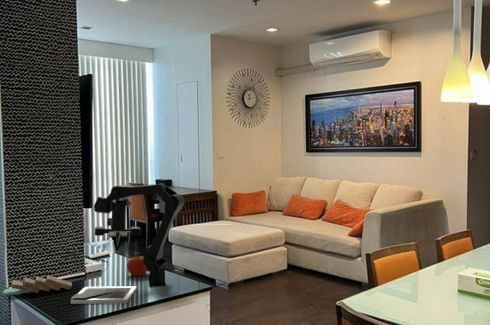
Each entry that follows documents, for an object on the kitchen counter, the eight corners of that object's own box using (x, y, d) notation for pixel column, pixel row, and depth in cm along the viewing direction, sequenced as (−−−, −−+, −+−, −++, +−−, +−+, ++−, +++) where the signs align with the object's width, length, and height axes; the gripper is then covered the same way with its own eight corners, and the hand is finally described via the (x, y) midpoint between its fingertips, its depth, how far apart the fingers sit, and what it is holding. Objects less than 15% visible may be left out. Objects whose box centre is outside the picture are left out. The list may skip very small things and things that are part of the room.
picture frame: (70, 305, 173) (127, 305, 173) (70, 298, 173) (127, 297, 173) (85, 292, 189) (136, 291, 189) (84, 285, 189) (136, 284, 189)
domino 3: (49, 283, 192) (24, 277, 188) (50, 287, 188) (25, 281, 183) (47, 287, 192) (22, 281, 187) (49, 291, 188) (23, 285, 183)
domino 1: (32, 286, 191) (5, 289, 188) (30, 290, 186) (2, 292, 183) (32, 290, 191) (5, 293, 188) (30, 294, 186) (2, 297, 183)
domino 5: (71, 282, 194) (47, 275, 191) (71, 286, 190) (46, 278, 187) (70, 286, 194) (46, 278, 191) (70, 289, 190) (45, 282, 186)
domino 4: (61, 283, 193) (36, 276, 190) (61, 287, 189) (36, 279, 185) (59, 287, 193) (34, 279, 190) (59, 290, 188) (34, 283, 185)
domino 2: (38, 284, 191) (12, 279, 186) (39, 289, 186) (13, 284, 181) (37, 288, 190) (11, 283, 186) (38, 292, 186) (11, 288, 181)
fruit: (130, 279, 204) (130, 256, 203) (124, 274, 212) (124, 252, 212) (152, 275, 209) (151, 253, 208) (145, 271, 217) (144, 249, 216)
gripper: (139, 212, 210) (137, 246, 210) (95, 211, 204) (93, 247, 204) (141, 216, 199) (139, 252, 200) (95, 215, 193) (93, 253, 194)
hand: (116, 251), depth 200 cm, fingers closed
